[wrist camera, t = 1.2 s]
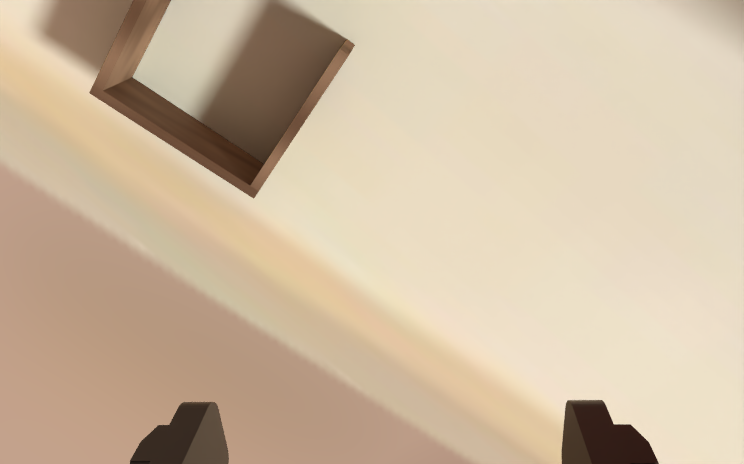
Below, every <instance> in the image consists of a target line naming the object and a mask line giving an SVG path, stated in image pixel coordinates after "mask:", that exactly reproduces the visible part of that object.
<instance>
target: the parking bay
mask: <svg viewBox="0 0 744 464" xmlns="http://www.w3.org/2000/svg"><path fill="white" fill-rule="evenodd" d="M170 1H171V0H134V1H133V3H132V5H131V7H130V9H129V11H128V13H127V15H126V17H125V19H124V22H123V24H122V26H121V28H120V30H119V32H118V34H117V36H116V38H115V40H114V42H113V45H112V47H111V49H110V51H109V53H108V55H107V57H106V59H105V61H104V63H103V66H102V68H101V70H100V72H99V74H98V76H97V78H96V80H95V82H94V84H93V86H92V89H91V91H90V94H92V95H93V96H95V97H96V98H98V99H99V100H101V101H103V102H104V103H106V104H107V105H109V106H110V107H112V108H114V109H115V110H117V111H118V112H120V113H121V114H123V115H124V116H126V117H128V118H129V119H131V120H132V121H134V122H135V123H137V124H138V125H140V126H142V127H143V128H145V129H146V130H148V131H149V132H151V133H152V134H154V135H156V136H157V137H159V138H160V139H162V140H163V141H165V142H167V143H168V144H170V145H171V146H173V147H174V148H176V149H177V150H179V151H181V152H182V153H184V154H185V155H187V156H188V157H190V158H191V159H193V160H195V161H196V162H198V163H199V164H201V165H202V166H204V167H205V168H207V169H209V170H210V171H212V172H213V173H215V174H216V175H218V176H220V177H221V178H223V179H224V180H226V181H227V182H229V183H230V184H232V185H234V186H235V187H237V188H238V189H240V190H241V191H243V192H244V193H246V194H248V195H249V196H251V197H252V198H254V197H255V196H256V194H257V193H258V191H259V190H260V188H261V187H262V185H263V184H264V182H265V181H266V179H267V178H268V176H269V175H270V173H271V172H272V170H273V169H274V167H275V166H276V164H277V163H278V161H279V160H280V158H281V157H282V155H283V154H284V152H285V151H286V149H287V148H288V146H289V145H290V143H291V142H292V140H293V139H294V137H295V136H296V134H297V133H298V131H299V130H300V128H301V126H302V125H303V123H304V122H305V120H306V119H307V117H308V116H309V114H310V113H311V111H312V110H313V108H314V107H315V105H316V104H317V102H318V101H319V99H320V98H321V96H322V95H323V93H324V92H325V90H326V89H327V87H328V86H329V84H330V83H331V81H332V80H333V78H334V77H335V75H336V74H337V72H338V71H339V69H340V68H341V66H342V65H343V63H344V62H345V60H346V59H347V57H348V56H349V54H350V52H351V51H352V49H353V47H354V46H355V45H354V44H353V43H351V42H350V41H349V40H346V41H345V42H344V44H343V45H342V46H341V48H340V49H339V51H338V52H337V54H336V55H335V57H334V58H333V60H332V61H331V63H330V64H329V66H328V68H327V69H326V71H325V72H324V74H323V75H322V77H321V78H320V80H319V81H318V83H317V84H316V86H315V87H314V89H313V90H312V92H311V94H310V95H309V97H308V98H307V100H306V101H305V103H304V104H303V106H302V107H301V109H300V110H299V112H298V113H297V115H296V117H295V118H294V120H293V121H292V123H291V124H290V126H289V127H288V129H287V130H286V132H285V133H284V135H283V136H282V138H281V140H280V141H279V143H278V144H277V146H276V147H275V149H274V150H273V152H272V153H271V155H270V156H269V158H268V159H267V161H266V162H265V164H263V163H261V162H260V161H258V160H257V159H255V158H254V157H252V156H251V155H249V154H248V153H246V152H245V151H243V150H242V149H240V148H239V147H237V146H236V145H234V144H232V143H231V142H229V141H228V140H226V139H225V138H223V137H222V136H220V135H219V134H217V133H216V132H214V131H213V130H211V129H210V128H208V127H207V126H205V125H204V124H202V123H201V122H199V121H198V120H196V119H194V118H193V117H191V116H190V115H188V114H187V113H185V112H184V111H182V110H181V109H179V108H178V107H176V106H175V105H173V104H172V103H170V102H169V101H167V100H166V99H164V98H163V97H161V96H159V95H158V94H156V93H155V92H153V91H152V90H150V89H149V88H147V87H146V86H144V85H143V84H141V83H140V82H138V81H137V80H135V79H134V78H132V76H133V74H134V72H135V70H136V68H137V66H138V65H139V63H140V61H141V59H142V57H143V55H144V53H145V51H146V49H147V47H148V45H149V43H150V41H151V39H152V37H153V35H154V33H155V31H156V29H157V27H158V25H159V23H160V21H161V19H162V17H163V15H164V13H165V11H166V9H167V7H168V5H169V3H170Z"/></svg>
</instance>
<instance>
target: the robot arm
mask: <svg viewBox="0 0 744 464" xmlns="http://www.w3.org/2000/svg"><path fill="white" fill-rule="evenodd" d="M228 460H229V458H228V448H227V444H226V440H225V435H224V431H223V427H222V422H221V418H220V414H219V409H218V406H217V404H216V403H215V402H184V403H182V404H181V405H180V406H179V407H178V409H177V411H176V413H175V415H174V417H173V419H172V421H171V423H170V425H159V426H157V427H156V428H155V429H154V430H153V431H152V432H151V433H150V434H149V435H148V436H147V437H145V438H144V439H143V440H142V441H141V443H140V444H139V446H138V448H137V449H136V451H135V453H134V455H133V457H132V458H131V460H130V464H228ZM562 464H659V463H658V461H657V459H656V457H655V454H654V452H653V450H652V448H651V446H650V444H649V442H648V441H647V440H646V439H645V438H644V437H643V436H642V435H641V434H640V433H639V432H638V431H637V430H636V429H635V428H634V427H633V426H631V425H614V424H613V422H612V419H611V417H610V414H609V412H608V410H607V407H606V405H605V403H604V402H603V401H602V400H568V401H567V403H566V408H565V419H564V431H563V442H562Z"/></svg>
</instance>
